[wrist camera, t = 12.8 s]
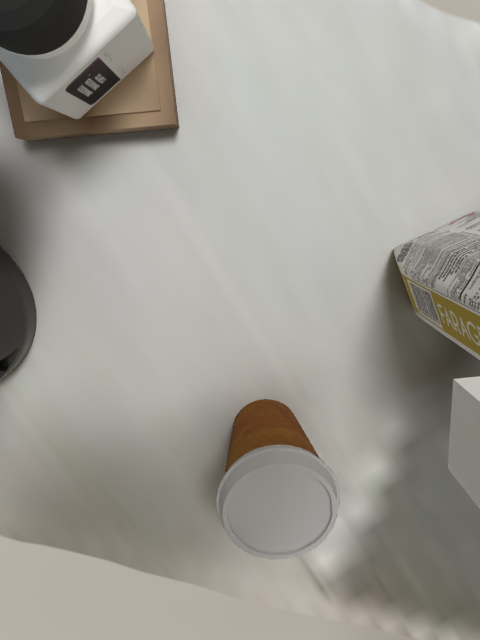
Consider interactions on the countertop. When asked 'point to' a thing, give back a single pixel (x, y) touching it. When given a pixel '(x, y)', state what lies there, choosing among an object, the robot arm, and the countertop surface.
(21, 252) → the countertop surface
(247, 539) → the disposable coffee cup
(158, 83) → the stand
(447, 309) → the juice carton
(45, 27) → the container
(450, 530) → the countertop surface
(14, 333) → the robot arm
